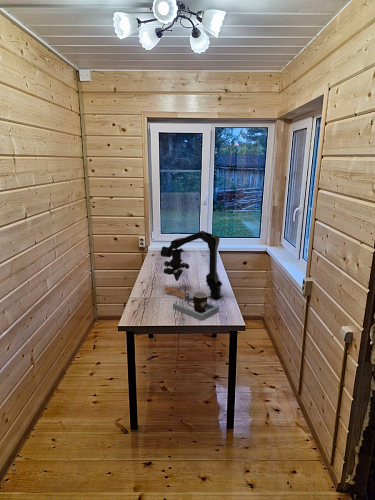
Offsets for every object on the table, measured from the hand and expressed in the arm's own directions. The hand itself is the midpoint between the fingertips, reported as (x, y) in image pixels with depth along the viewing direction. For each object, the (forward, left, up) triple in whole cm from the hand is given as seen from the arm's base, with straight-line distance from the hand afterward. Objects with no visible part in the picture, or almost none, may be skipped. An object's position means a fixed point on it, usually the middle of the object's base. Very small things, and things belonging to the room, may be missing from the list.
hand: (176, 280), depth 211 cm
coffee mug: (+13, +29, -7) cm, 33 cm away
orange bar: (+6, +6, -6) cm, 10 cm away
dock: (+13, +25, -7) cm, 29 cm away
